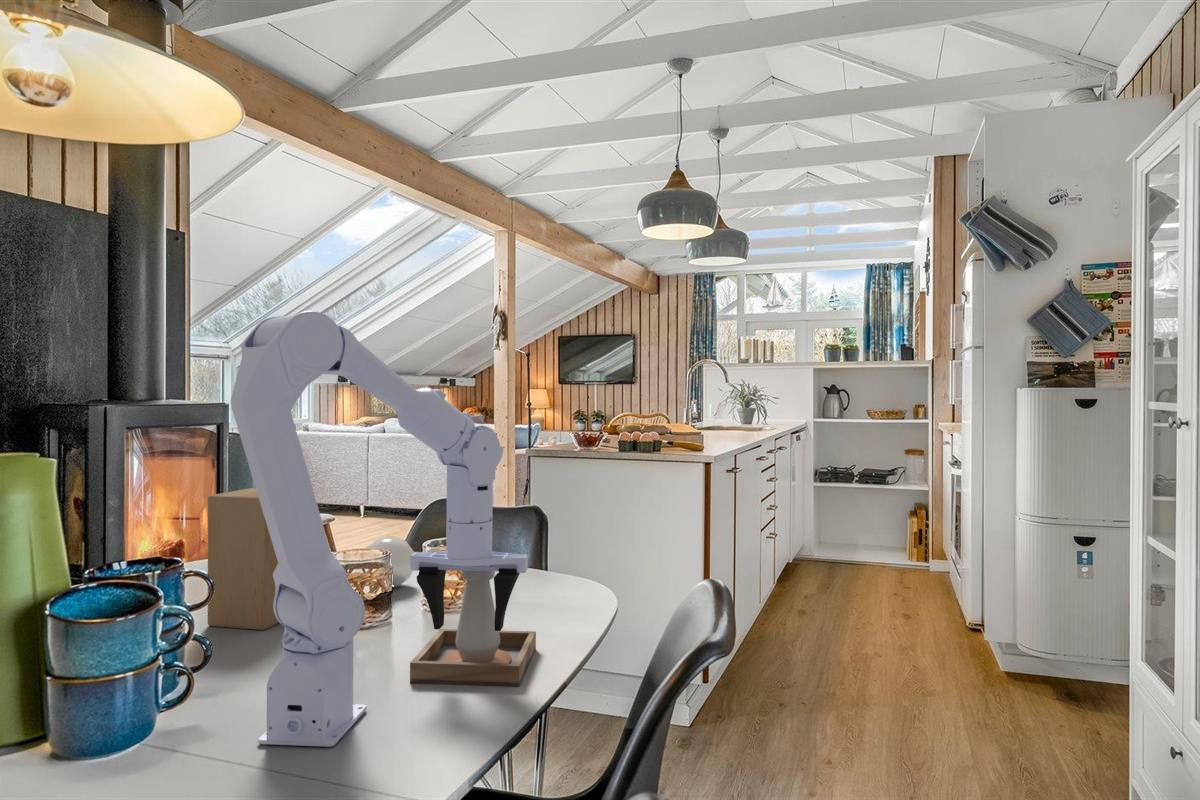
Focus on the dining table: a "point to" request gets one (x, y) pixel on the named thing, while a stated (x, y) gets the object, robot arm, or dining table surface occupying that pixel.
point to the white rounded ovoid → (396, 557)
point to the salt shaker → (477, 619)
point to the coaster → (498, 658)
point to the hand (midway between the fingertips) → (468, 627)
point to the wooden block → (240, 562)
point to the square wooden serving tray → (435, 671)
